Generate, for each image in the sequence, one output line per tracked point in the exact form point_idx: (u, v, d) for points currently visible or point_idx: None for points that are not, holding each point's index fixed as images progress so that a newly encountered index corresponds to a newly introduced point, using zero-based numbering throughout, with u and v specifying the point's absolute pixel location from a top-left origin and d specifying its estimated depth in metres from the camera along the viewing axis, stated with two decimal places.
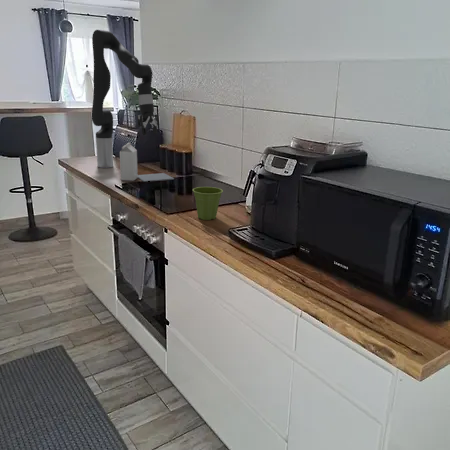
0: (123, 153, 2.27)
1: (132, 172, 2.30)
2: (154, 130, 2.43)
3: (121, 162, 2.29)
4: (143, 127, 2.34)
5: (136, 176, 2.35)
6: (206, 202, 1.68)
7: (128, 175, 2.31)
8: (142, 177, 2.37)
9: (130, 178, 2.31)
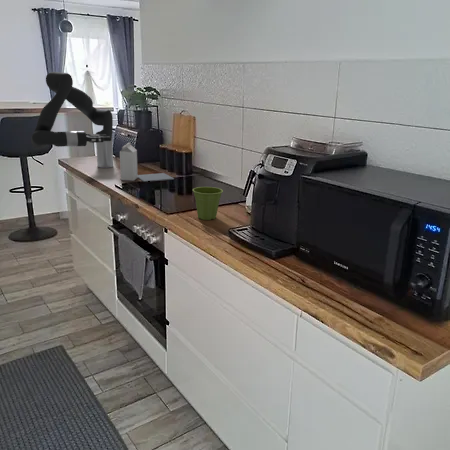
0: (123, 153, 2.27)
1: (132, 172, 2.30)
2: None
3: (121, 162, 2.29)
4: (99, 138, 2.25)
5: (136, 176, 2.35)
6: (206, 202, 1.68)
7: (128, 175, 2.31)
8: (142, 177, 2.37)
9: (130, 178, 2.31)
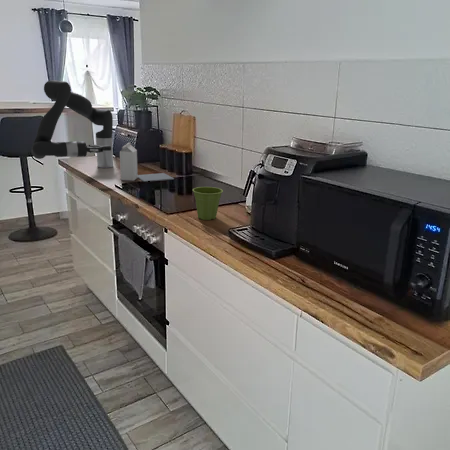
0: (123, 153, 2.27)
1: (132, 172, 2.30)
2: None
3: (121, 162, 2.29)
4: None
5: (136, 176, 2.35)
6: (206, 202, 1.68)
7: (128, 175, 2.31)
8: (142, 177, 2.37)
9: (130, 178, 2.31)
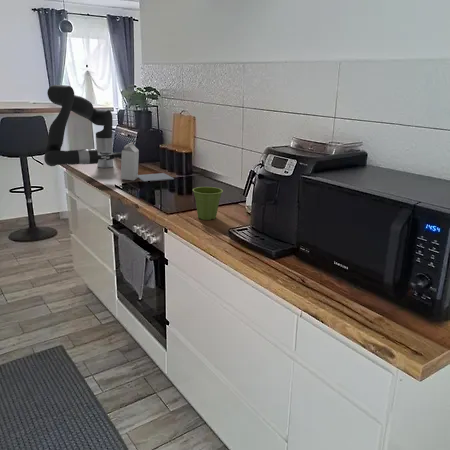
0: (125, 152, 2.27)
1: (133, 172, 2.30)
2: None
3: (122, 161, 2.28)
4: None
5: (136, 176, 2.35)
6: (206, 202, 1.68)
7: (128, 175, 2.30)
8: (142, 177, 2.37)
9: (130, 178, 2.31)
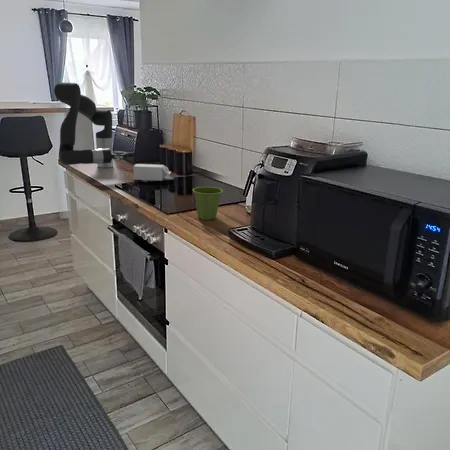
0: (160, 171, 2.29)
1: (142, 179, 2.31)
2: None
3: (151, 168, 2.29)
4: None
5: None
6: (206, 202, 1.68)
7: (138, 174, 2.30)
8: None
9: (135, 176, 2.31)
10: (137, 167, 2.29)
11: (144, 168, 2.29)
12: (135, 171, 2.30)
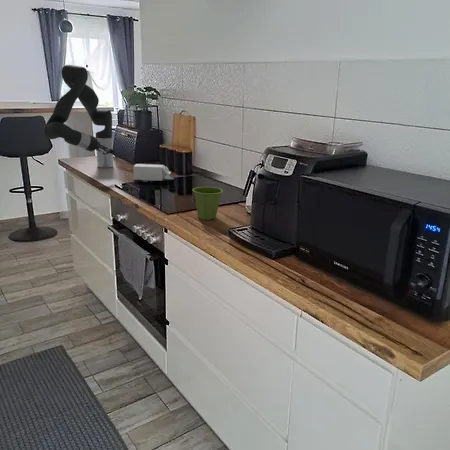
0: (160, 171, 2.29)
1: (142, 179, 2.31)
2: None
3: (151, 168, 2.29)
4: None
5: None
6: (206, 202, 1.68)
7: (138, 174, 2.30)
8: None
9: (135, 176, 2.31)
10: (137, 167, 2.29)
11: (144, 168, 2.29)
12: (135, 171, 2.30)
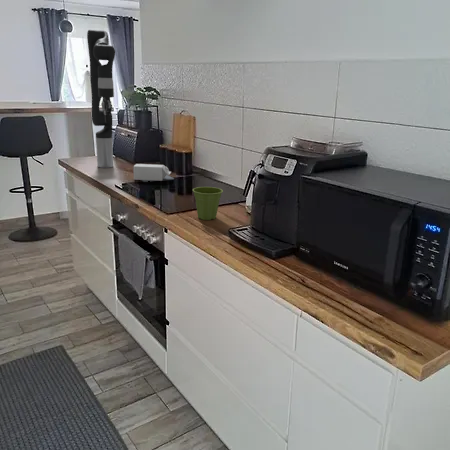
0: (160, 171, 2.29)
1: (142, 179, 2.31)
2: None
3: (151, 168, 2.29)
4: None
5: None
6: (206, 202, 1.68)
7: (138, 174, 2.30)
8: None
9: (135, 176, 2.31)
10: (137, 167, 2.29)
11: (144, 168, 2.29)
12: (135, 171, 2.30)
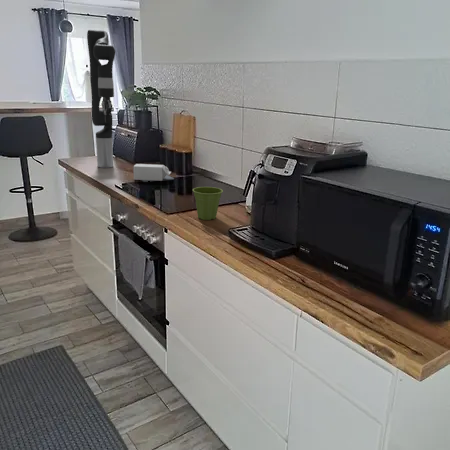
0: (160, 171, 2.29)
1: (142, 179, 2.31)
2: None
3: (151, 168, 2.29)
4: None
5: None
6: (206, 202, 1.68)
7: (138, 174, 2.30)
8: None
9: (135, 176, 2.31)
10: (137, 167, 2.29)
11: (144, 168, 2.29)
12: (135, 171, 2.30)
